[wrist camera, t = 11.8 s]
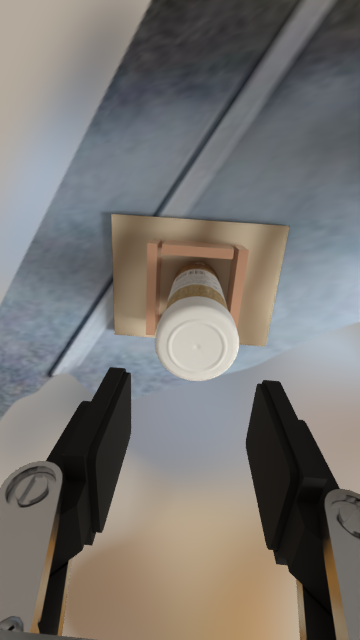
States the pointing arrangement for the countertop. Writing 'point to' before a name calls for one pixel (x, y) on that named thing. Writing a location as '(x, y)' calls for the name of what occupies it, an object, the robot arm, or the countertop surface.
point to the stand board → (132, 261)
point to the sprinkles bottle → (196, 326)
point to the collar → (196, 250)
